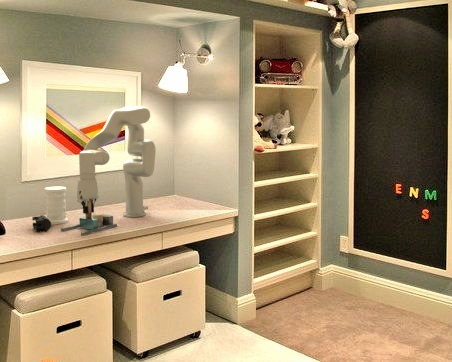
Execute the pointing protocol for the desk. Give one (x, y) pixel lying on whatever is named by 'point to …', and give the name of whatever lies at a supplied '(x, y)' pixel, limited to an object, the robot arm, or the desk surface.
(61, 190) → the decorative container
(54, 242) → the desk surface
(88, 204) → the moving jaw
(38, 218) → the end cap
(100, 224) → the beige cylinder
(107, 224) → the vise frame
